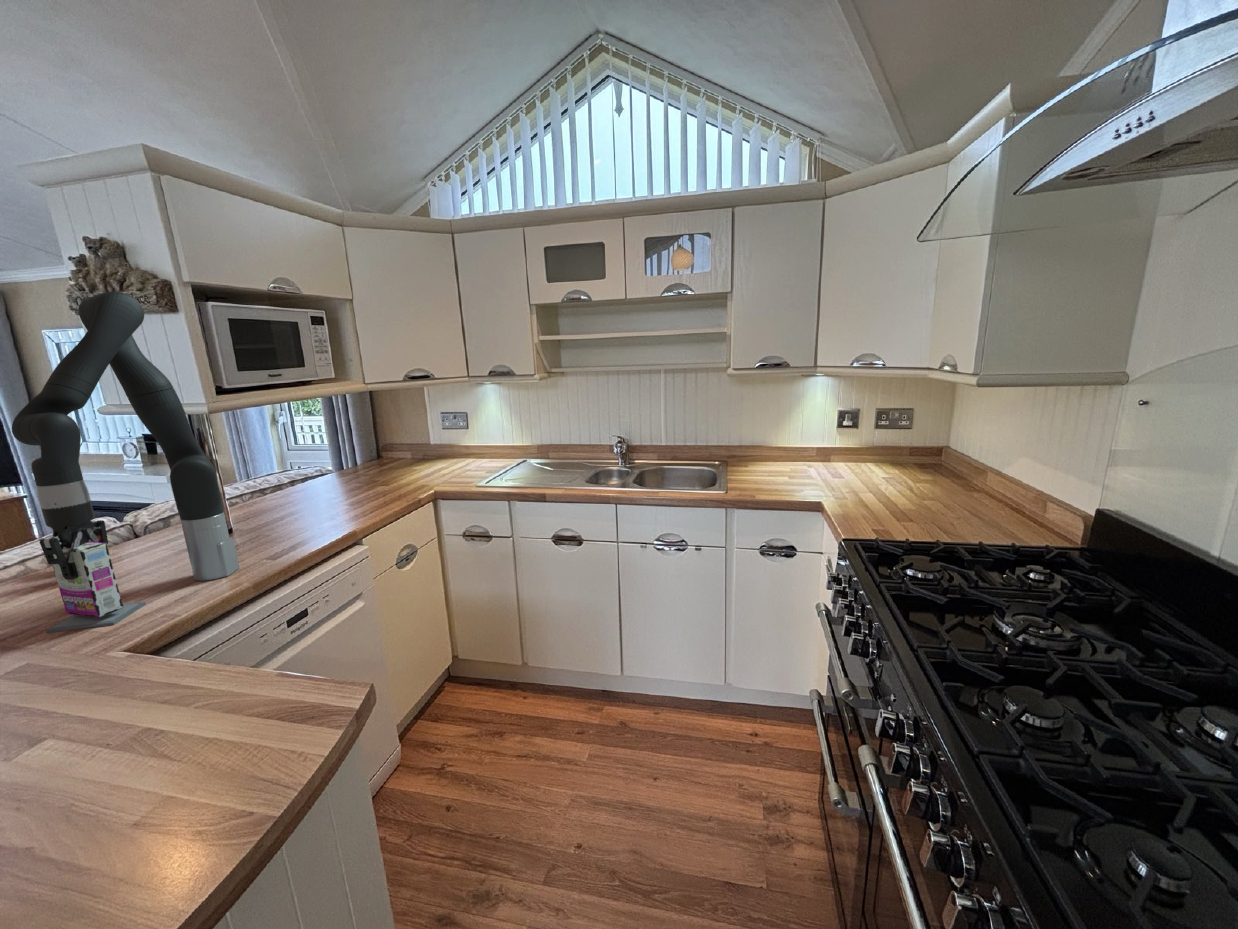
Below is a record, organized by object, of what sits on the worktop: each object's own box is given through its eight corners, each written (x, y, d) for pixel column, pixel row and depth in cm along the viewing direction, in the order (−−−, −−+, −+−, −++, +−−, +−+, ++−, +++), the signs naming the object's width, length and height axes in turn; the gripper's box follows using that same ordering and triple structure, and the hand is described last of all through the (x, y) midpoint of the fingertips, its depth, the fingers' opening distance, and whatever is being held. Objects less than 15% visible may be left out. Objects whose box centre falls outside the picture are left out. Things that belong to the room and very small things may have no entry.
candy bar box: (126, 607, 117) (108, 542, 113) (99, 618, 112) (80, 550, 108) (92, 603, 119) (73, 539, 116) (65, 614, 115) (44, 547, 111)
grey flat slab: (145, 604, 122) (145, 601, 122) (114, 624, 112) (113, 621, 112) (83, 611, 119) (82, 608, 119) (45, 633, 110) (44, 630, 110)
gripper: (57, 510, 104) (77, 583, 107) (111, 492, 118) (128, 558, 121) (14, 513, 103) (36, 588, 106) (73, 495, 116) (92, 562, 120)
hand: (85, 572), depth 114 cm, fingers closed on candy bar box, 6 cm apart
